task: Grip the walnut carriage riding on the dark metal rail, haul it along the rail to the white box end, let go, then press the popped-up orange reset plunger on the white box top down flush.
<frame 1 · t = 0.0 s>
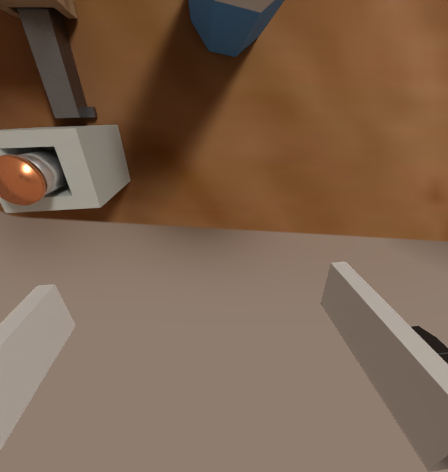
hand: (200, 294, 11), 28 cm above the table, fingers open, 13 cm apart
rail: (53, 32, 26), on the table
white box: (90, 155, 33), on the table
plunger: (36, 174, 22), point 12 cm above the table, slide at 0.0 cm
water bottle: (227, 10, 27), on the table
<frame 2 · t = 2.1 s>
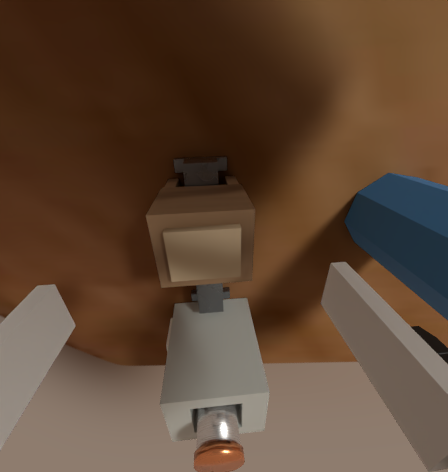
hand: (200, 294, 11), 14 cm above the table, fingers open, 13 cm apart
rail: (206, 238, 26), on the table
white box: (212, 320, 32), on the table
plunger: (217, 422, 22), point 12 cm above the table, slide at 0.0 cm
water bottle: (382, 211, 26), on the table
carriage: (204, 225, 19), point 5 cm above the table, slide at -4.1 cm
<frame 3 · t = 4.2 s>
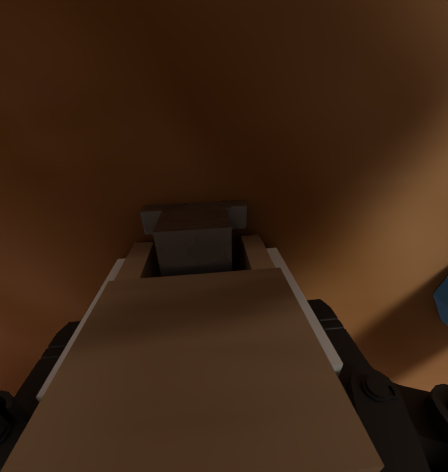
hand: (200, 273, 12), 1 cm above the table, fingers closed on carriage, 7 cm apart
rail: (206, 325, 15), on the table
carriage: (202, 361, 9), point 5 cm above the table, slide at -4.1 cm, touching gripper
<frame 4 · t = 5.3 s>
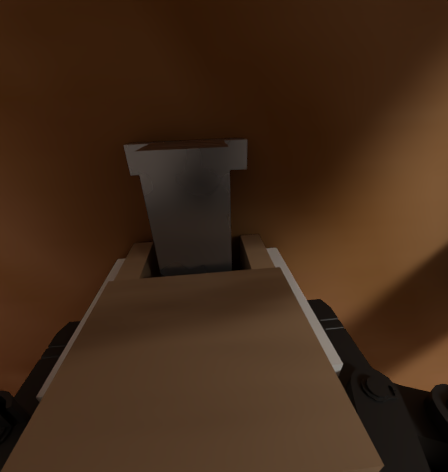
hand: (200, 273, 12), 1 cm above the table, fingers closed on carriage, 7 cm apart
rail: (203, 294, 14), on the table
carriage: (202, 361, 9), point 5 cm above the table, slide at -1.2 cm, touching gripper
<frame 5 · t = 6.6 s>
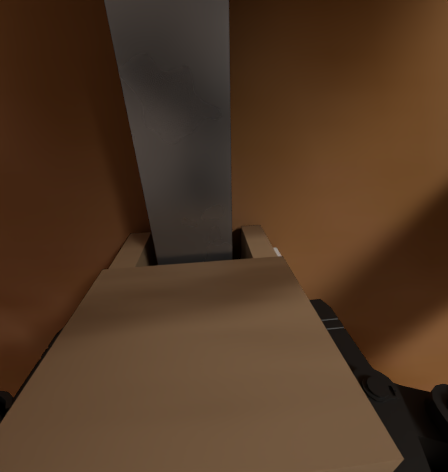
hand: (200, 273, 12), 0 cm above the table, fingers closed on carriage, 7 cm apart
rail: (193, 193, 11), on the table
carriage: (200, 354, 8), point 5 cm above the table, slide at 4.8 cm, touching gripper, rail
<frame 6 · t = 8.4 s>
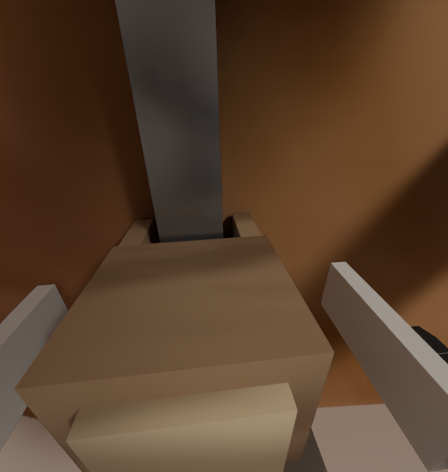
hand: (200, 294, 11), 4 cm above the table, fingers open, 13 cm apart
rail: (190, 184, 12), on the table
white box: (206, 348, 19), on the table
carriage: (196, 317, 10), point 5 cm above the table, slide at 4.8 cm, touching rail
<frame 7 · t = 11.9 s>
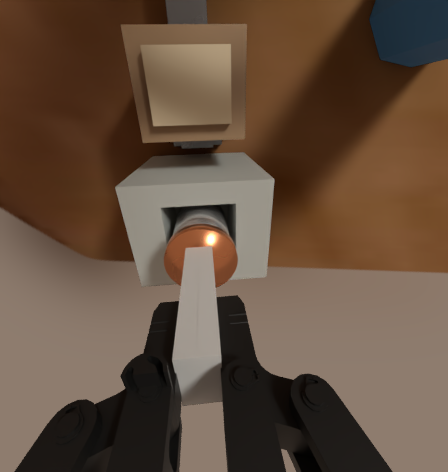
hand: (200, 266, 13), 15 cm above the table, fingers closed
rail: (189, 35, 20), on the table
white box: (201, 189, 26), on the table
plunger: (201, 238, 16), point 12 cm above the table, slide at -0.3 cm, touching gripper
water bottle: (418, 5, 20), on the table
carriage: (192, 94, 17), point 5 cm above the table, slide at 4.8 cm, touching rail
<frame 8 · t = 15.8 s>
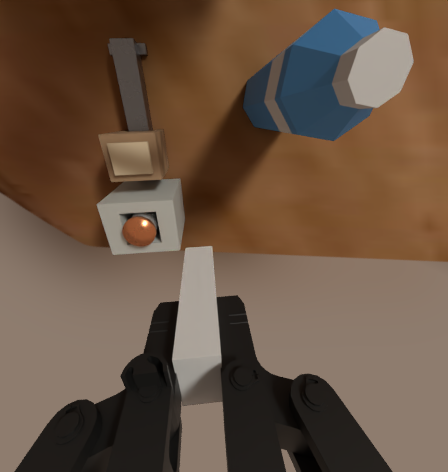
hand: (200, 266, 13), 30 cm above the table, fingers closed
rail: (141, 117, 35), on the table
white box: (156, 200, 42), on the table
plunger: (144, 223, 33), point 10 cm above the table, slide at -2.1 cm
water bottle: (270, 99, 36), on the table
carriage: (139, 153, 33), point 5 cm above the table, slide at 4.8 cm, touching rail
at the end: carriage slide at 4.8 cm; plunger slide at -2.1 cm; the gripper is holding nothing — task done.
